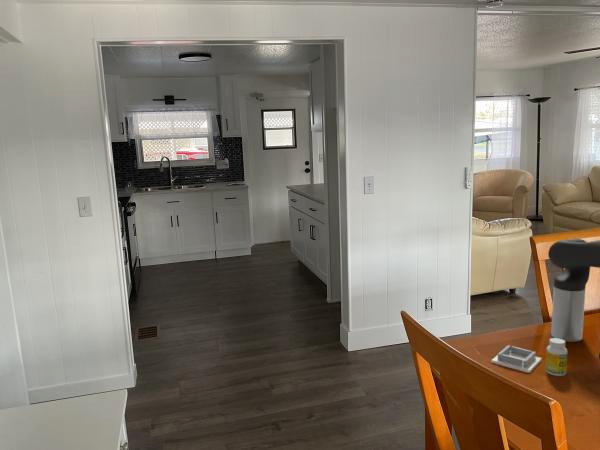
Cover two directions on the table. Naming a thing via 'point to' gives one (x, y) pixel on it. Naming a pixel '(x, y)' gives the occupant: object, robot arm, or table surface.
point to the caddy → (517, 359)
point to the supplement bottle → (556, 357)
